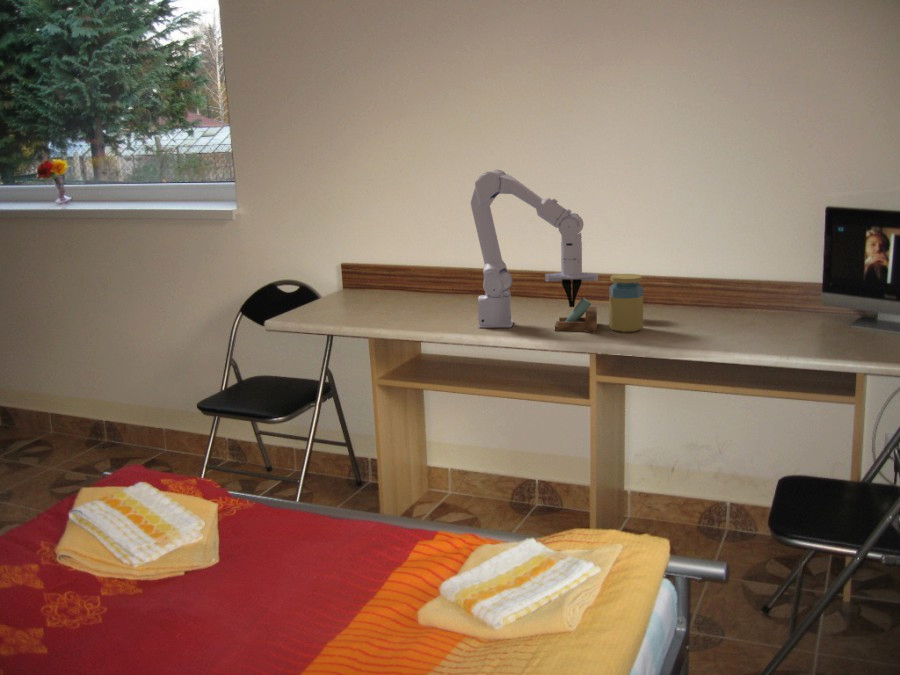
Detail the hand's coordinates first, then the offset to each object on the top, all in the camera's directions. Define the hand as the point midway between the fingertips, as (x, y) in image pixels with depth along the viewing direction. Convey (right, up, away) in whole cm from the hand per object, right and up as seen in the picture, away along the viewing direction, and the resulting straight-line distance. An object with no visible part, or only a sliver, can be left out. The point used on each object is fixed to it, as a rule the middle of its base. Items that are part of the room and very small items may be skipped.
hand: (571, 306), depth 261 cm
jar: (+15, -7, -3) cm, 16 cm away
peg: (-1, -5, +1) cm, 5 cm away
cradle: (+1, -6, +1) cm, 6 cm away
